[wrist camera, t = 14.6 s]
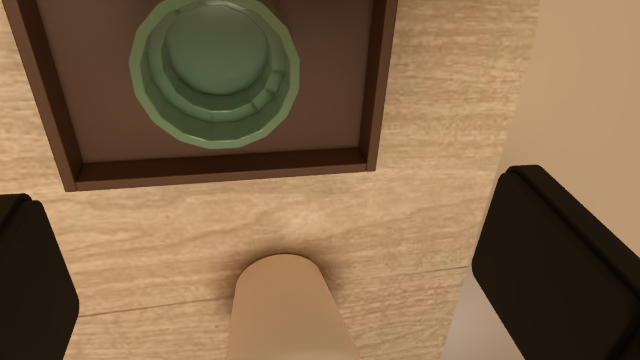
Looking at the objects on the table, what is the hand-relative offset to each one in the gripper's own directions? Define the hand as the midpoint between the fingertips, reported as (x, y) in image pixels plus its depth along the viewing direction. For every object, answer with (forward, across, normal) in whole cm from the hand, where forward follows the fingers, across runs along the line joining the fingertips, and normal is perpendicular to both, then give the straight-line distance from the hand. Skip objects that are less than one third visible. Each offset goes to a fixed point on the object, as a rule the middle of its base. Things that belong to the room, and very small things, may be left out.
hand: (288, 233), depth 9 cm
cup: (+17, -1, +19) cm, 26 cm away
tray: (+17, +2, +1) cm, 17 cm away
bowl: (+16, +2, +1) cm, 16 cm away
